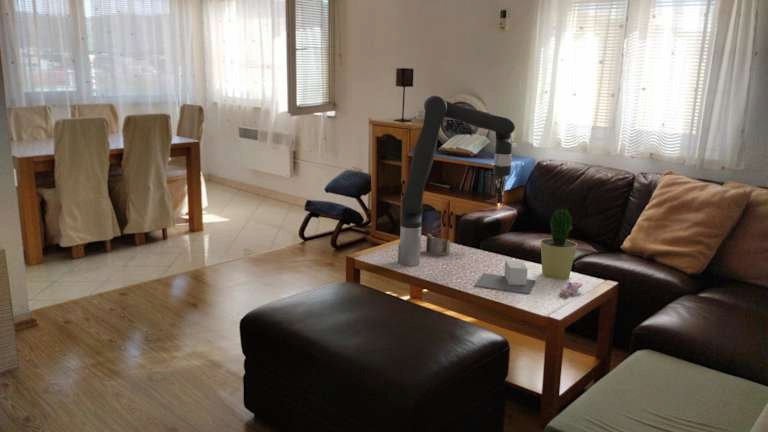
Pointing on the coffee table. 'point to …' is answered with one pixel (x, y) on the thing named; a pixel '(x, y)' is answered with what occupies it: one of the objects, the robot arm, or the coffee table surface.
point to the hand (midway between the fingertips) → (499, 202)
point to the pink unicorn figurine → (570, 289)
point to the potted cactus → (558, 248)
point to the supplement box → (515, 272)
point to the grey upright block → (437, 245)
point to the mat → (503, 284)
